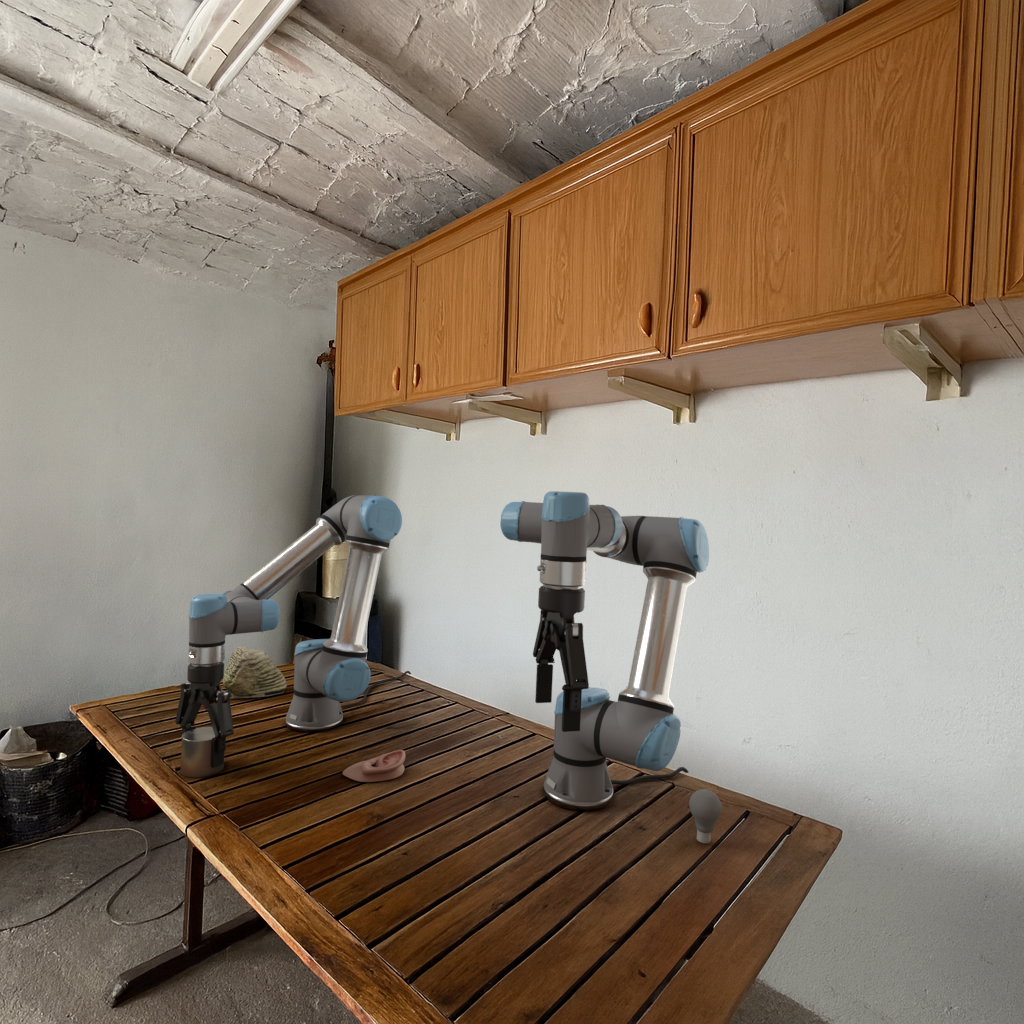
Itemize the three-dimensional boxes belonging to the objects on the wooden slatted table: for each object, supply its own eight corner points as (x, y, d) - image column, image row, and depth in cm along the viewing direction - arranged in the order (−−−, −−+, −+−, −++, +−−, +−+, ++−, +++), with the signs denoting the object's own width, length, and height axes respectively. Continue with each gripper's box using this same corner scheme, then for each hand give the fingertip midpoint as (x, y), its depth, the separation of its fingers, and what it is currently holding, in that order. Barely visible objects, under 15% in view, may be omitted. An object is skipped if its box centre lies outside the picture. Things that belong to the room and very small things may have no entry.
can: (174, 778, 139) (175, 741, 139) (187, 761, 148) (189, 726, 148) (217, 776, 141) (219, 740, 141) (228, 760, 150) (229, 726, 150)
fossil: (218, 695, 195) (220, 647, 195) (278, 685, 208) (279, 640, 207) (228, 703, 189) (230, 653, 188) (289, 692, 201) (290, 645, 201)
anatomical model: (336, 761, 142) (359, 742, 153) (336, 778, 142) (358, 758, 153) (392, 768, 139) (411, 749, 151) (391, 786, 139) (410, 765, 151)
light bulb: (682, 833, 125) (685, 783, 125) (712, 833, 125) (714, 783, 125) (694, 850, 119) (696, 797, 119) (725, 850, 119) (727, 798, 119)
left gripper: (159, 659, 145) (156, 756, 146) (225, 674, 136) (221, 778, 136) (189, 652, 152) (185, 745, 153) (253, 666, 143) (250, 765, 143)
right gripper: (519, 576, 114) (513, 693, 115) (566, 598, 90) (559, 746, 90) (558, 576, 116) (553, 691, 117) (615, 598, 92) (608, 743, 92)
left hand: (202, 760), depth 145 cm, fingers closed on can, 9 cm apart
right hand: (556, 715), depth 104 cm, fingers open, 13 cm apart
